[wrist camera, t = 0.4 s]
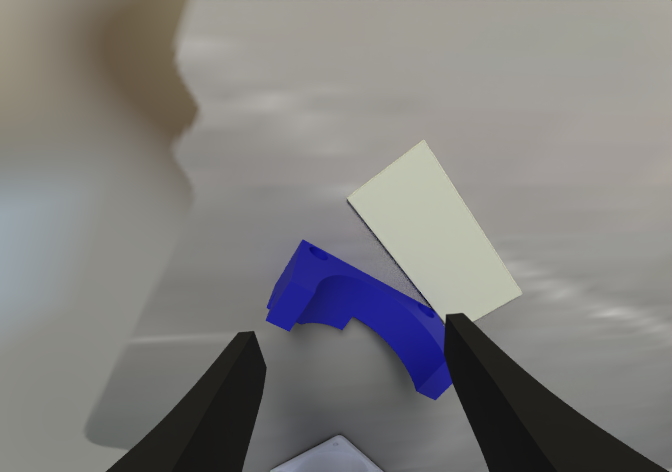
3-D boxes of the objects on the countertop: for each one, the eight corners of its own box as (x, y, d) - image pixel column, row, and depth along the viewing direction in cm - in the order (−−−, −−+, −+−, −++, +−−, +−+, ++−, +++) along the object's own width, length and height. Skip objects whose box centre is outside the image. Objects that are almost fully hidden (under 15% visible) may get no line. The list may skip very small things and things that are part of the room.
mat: (451, 330, 24) (452, 332, 23) (346, 197, 20) (346, 198, 19) (520, 291, 22) (522, 293, 22) (423, 139, 18) (424, 140, 18)
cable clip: (275, 284, 22) (254, 338, 17) (303, 238, 21) (290, 280, 15) (402, 348, 25) (421, 414, 19) (435, 309, 23) (466, 369, 18)
